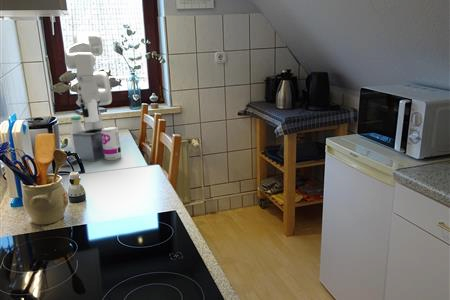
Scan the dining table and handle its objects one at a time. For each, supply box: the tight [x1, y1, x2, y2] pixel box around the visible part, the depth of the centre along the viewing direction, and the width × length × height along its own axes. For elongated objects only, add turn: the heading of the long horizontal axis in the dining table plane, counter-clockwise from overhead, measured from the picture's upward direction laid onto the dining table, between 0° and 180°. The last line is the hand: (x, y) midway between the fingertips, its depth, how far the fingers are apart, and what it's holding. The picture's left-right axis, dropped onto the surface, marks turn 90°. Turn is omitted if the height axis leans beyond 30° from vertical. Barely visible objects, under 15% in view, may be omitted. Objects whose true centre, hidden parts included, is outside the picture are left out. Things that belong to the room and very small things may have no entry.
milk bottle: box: [70, 115, 86, 153], centre depth 206 cm, size 8×8×20 cm
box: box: [73, 127, 105, 162], centre depth 201 cm, size 12×16×13 cm
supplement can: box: [101, 126, 123, 161], centre depth 195 cm, size 8×8×15 cm
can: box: [84, 99, 99, 123], centre depth 197 cm, size 6×6×12 cm
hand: (91, 115), depth 197 cm, fingers closed on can, 6 cm apart
